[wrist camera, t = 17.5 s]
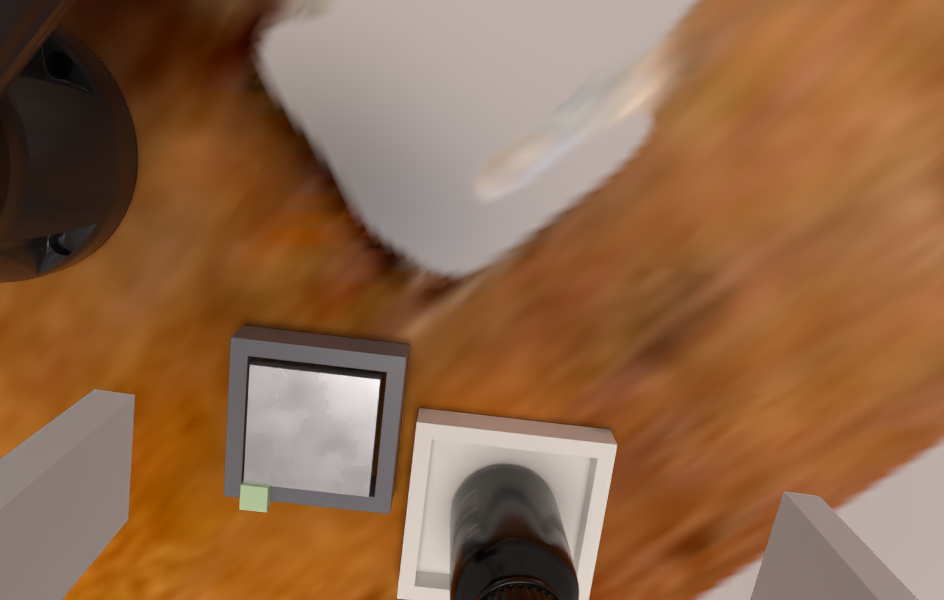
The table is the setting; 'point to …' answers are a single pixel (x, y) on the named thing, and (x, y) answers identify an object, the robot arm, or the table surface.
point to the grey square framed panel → (324, 352)
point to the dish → (492, 445)
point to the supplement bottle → (509, 540)
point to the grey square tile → (311, 427)
